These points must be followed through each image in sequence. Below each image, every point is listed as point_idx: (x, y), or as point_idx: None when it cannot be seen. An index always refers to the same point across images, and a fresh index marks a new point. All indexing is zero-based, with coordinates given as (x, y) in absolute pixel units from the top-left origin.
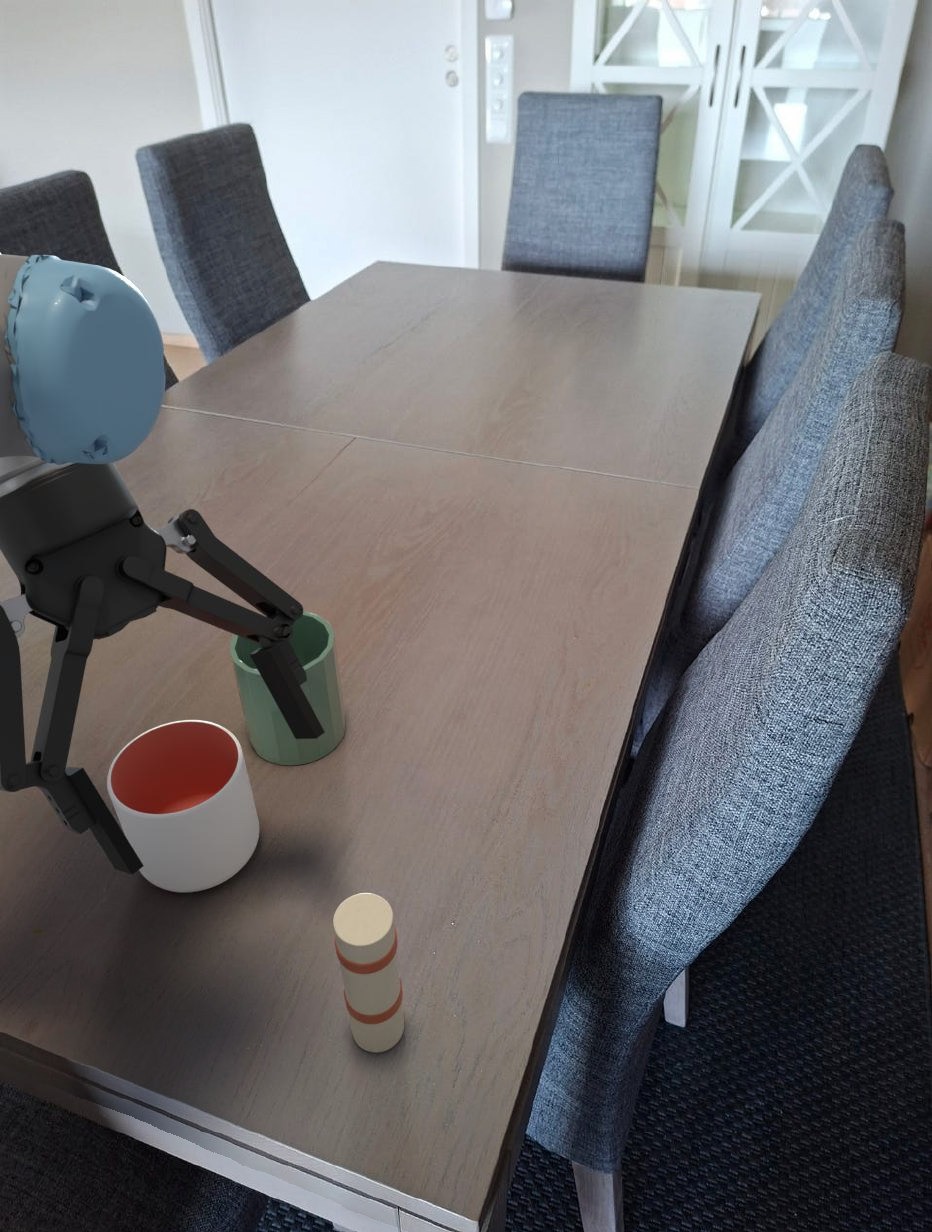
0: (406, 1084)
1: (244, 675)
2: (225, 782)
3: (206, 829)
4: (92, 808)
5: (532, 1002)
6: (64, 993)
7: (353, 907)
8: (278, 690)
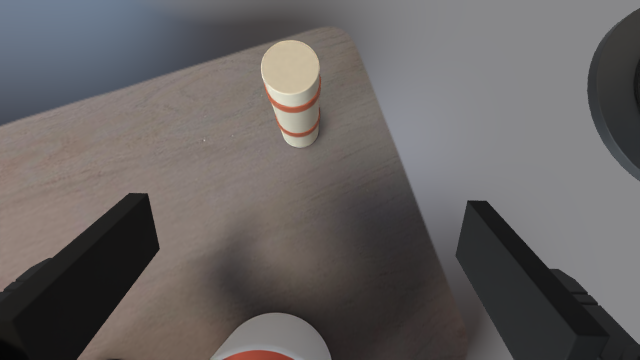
0: None
1: None
2: None
3: (285, 336)
4: (549, 272)
5: (222, 60)
6: (432, 337)
7: (287, 81)
8: (101, 286)
